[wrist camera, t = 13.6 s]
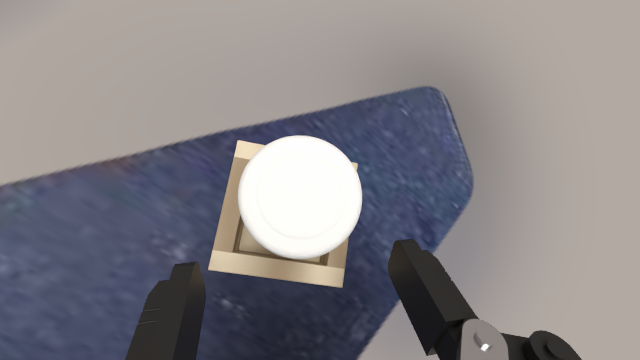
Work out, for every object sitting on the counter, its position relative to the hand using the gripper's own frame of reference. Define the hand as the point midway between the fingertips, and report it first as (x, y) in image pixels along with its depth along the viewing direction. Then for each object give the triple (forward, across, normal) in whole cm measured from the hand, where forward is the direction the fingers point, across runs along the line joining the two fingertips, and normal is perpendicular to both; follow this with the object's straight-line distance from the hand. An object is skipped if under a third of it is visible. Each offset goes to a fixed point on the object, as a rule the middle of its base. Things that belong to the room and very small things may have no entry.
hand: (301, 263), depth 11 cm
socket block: (+10, 0, +6) cm, 12 cm away
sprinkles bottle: (+10, 0, +6) cm, 12 cm away
